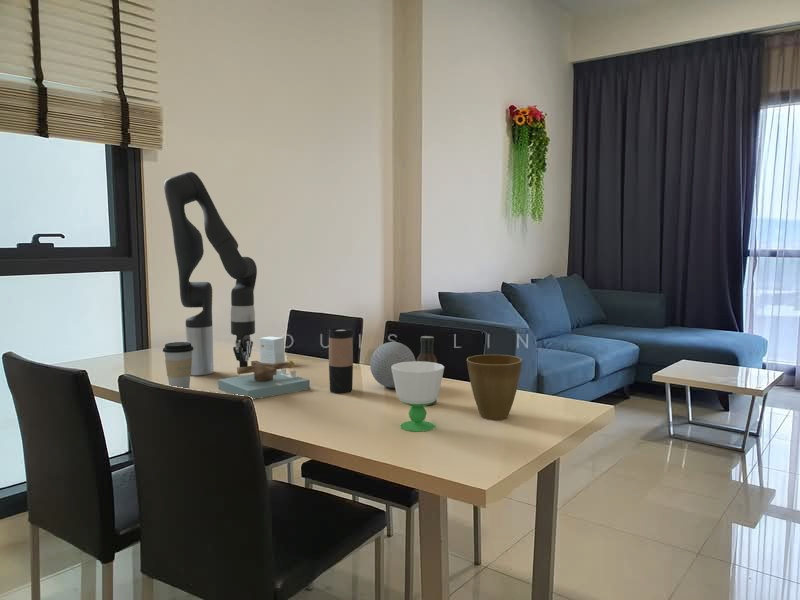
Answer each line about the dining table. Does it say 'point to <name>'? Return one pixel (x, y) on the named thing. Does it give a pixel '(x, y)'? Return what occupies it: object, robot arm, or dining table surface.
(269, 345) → the small box
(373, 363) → the decorative ball
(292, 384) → the stand
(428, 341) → the sauce bottle
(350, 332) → the travel mug
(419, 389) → the cup
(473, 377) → the plant pot
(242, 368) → the capstan
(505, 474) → the dining table surface
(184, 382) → the coffee cup
